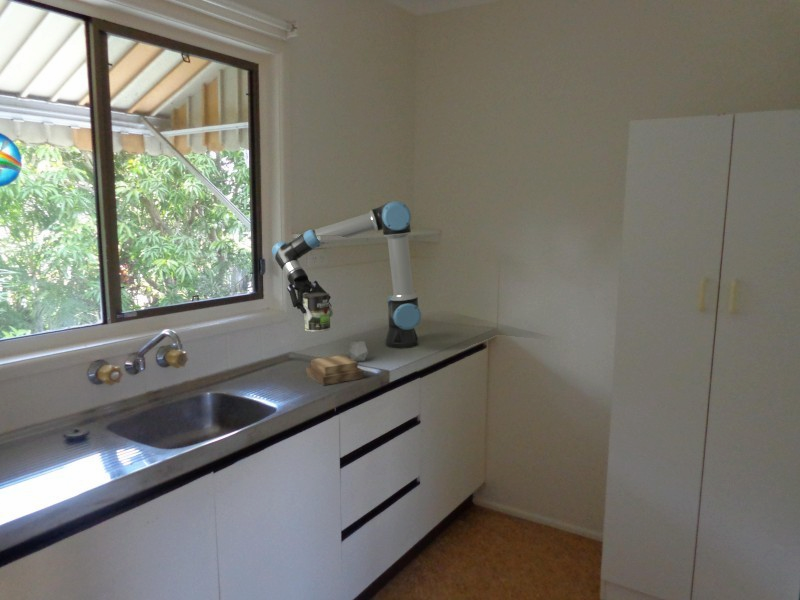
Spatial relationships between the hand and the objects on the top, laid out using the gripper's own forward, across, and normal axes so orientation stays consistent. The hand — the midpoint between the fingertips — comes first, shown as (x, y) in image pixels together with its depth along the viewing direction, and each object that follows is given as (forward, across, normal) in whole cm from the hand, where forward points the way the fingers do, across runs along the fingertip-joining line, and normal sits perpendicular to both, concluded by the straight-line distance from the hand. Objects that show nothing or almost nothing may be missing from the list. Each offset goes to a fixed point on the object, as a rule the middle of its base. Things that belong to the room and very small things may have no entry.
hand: (321, 316), depth 229 cm
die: (+16, -16, -13) cm, 26 cm away
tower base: (+24, +6, -5) cm, 25 cm away
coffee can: (+2, 0, -6) cm, 6 cm away
